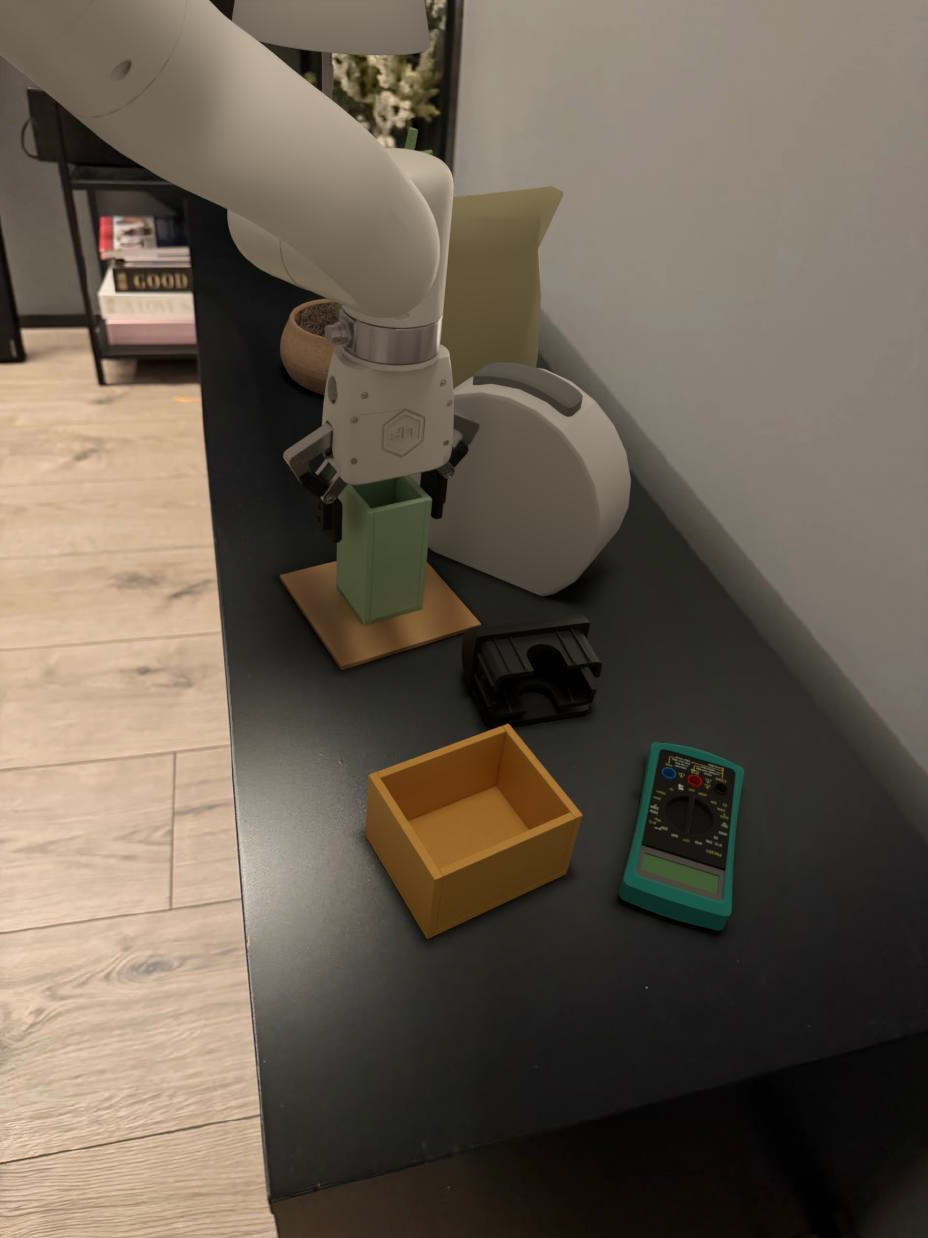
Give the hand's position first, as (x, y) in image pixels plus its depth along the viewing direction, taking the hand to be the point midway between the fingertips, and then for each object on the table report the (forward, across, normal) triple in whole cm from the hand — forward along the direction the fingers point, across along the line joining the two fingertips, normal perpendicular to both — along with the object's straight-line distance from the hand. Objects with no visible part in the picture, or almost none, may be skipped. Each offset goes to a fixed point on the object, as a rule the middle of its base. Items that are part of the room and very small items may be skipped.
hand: (381, 522), depth 80 cm
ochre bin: (+9, -7, -28) cm, 30 cm away
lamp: (+9, +34, +87) cm, 94 cm away
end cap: (+9, +6, -16) cm, 19 cm away
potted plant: (+9, +20, +44) cm, 49 cm away
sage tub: (+9, 0, 0) cm, 9 cm away
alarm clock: (+9, +15, +2) cm, 18 cm away
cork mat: (+9, 0, 0) cm, 9 cm away
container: (+9, +18, +22) cm, 30 cm away
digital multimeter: (+9, +8, -34) cm, 36 cm away
